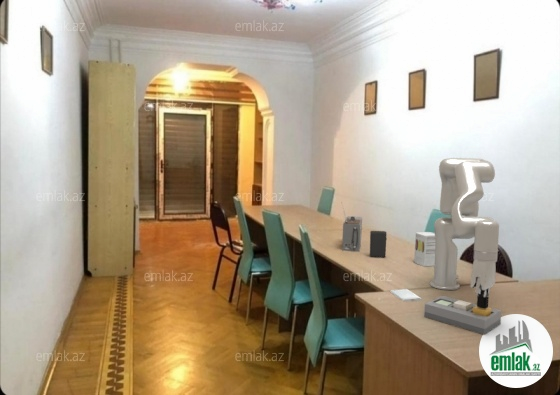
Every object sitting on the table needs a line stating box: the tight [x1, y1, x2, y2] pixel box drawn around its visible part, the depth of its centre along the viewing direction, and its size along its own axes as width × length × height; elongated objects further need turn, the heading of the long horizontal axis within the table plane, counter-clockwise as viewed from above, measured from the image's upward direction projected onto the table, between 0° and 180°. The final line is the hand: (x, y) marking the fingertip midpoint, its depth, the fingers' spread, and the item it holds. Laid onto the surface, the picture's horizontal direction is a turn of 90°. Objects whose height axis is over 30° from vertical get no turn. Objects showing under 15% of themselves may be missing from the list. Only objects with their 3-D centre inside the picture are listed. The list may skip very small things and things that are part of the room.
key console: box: [423, 295, 502, 336], centre depth 164 cm, size 14×22×5 cm, turn 44°
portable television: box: [341, 201, 363, 252], centre depth 285 cm, size 12×24×30 cm, turn 167°
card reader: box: [369, 230, 387, 259], centre depth 260 cm, size 9×4×15 cm, turn 80°
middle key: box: [453, 299, 473, 311], centre depth 164 cm, size 5×5×2 cm
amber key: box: [473, 306, 492, 316], centre depth 159 cm, size 5×5×2 cm
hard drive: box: [389, 288, 423, 302], centre depth 191 cm, size 2×8×12 cm
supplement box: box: [413, 231, 435, 268], centre depth 245 cm, size 10×9×17 cm
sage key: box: [436, 300, 453, 306], centre depth 169 cm, size 5×5×2 cm
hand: (482, 307), depth 159 cm, fingers closed
